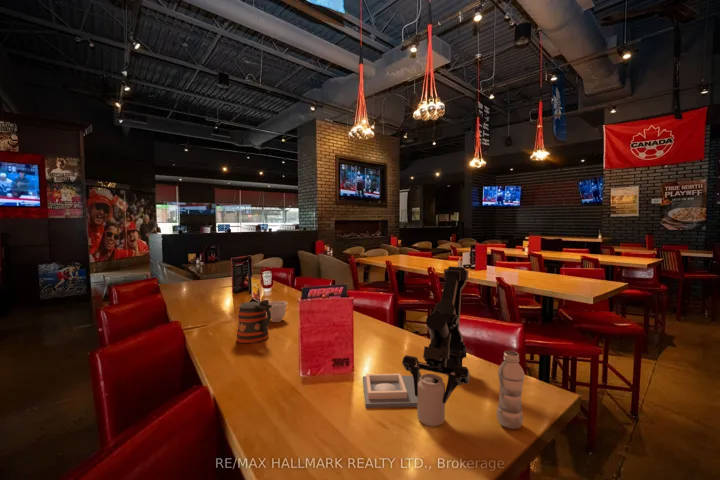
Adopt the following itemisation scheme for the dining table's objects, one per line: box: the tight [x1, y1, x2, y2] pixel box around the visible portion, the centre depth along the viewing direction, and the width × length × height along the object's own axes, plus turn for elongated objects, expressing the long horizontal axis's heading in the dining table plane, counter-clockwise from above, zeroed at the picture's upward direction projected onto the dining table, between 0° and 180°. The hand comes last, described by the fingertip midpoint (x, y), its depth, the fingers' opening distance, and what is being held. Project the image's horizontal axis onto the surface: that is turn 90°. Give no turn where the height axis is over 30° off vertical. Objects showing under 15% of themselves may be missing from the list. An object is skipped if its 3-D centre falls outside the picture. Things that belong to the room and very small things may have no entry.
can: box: [416, 373, 446, 427], centre depth 88 cm, size 8×8×12 cm
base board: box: [362, 373, 418, 409], centre depth 103 cm, size 20×17×3 cm
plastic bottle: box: [495, 350, 526, 430], centre depth 86 cm, size 6×7×20 cm
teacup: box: [268, 300, 288, 323], centre depth 177 cm, size 12×15×10 cm
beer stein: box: [236, 299, 272, 344], centre depth 150 cm, size 19×15×20 cm
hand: (429, 399), depth 87 cm, fingers closed on can, 7 cm apart
